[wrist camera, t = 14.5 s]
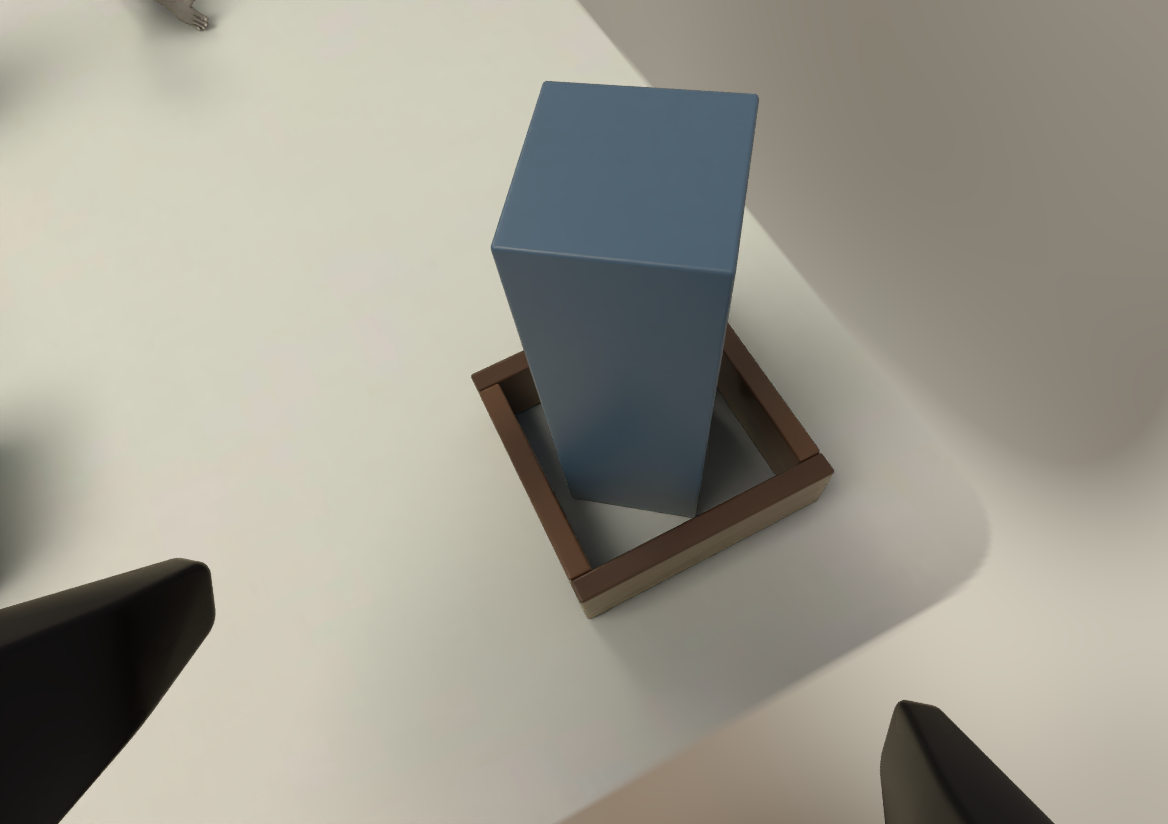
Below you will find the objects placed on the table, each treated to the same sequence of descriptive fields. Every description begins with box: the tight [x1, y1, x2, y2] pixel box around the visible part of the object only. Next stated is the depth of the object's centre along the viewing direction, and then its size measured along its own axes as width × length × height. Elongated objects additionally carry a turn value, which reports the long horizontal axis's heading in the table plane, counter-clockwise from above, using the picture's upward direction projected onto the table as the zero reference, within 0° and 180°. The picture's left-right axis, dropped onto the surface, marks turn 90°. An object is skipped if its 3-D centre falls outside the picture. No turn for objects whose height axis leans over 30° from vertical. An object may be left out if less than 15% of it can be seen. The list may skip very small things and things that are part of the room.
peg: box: [491, 81, 759, 518], centre depth 18 cm, size 4×4×12 cm
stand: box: [471, 323, 834, 619], centre depth 22 cm, size 8×8×2 cm
